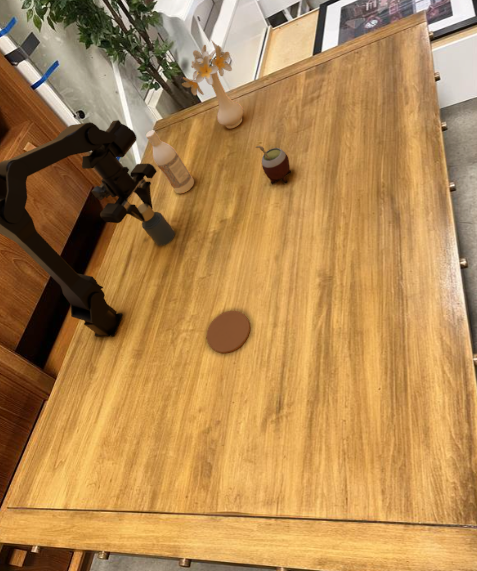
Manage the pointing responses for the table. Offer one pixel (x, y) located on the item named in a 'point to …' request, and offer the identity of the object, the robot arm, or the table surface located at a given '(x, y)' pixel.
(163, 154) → the bath foam
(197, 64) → the flower vase
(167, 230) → the bottle
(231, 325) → the coaster
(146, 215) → the cap
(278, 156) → the mate gourd
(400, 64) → the table surface
